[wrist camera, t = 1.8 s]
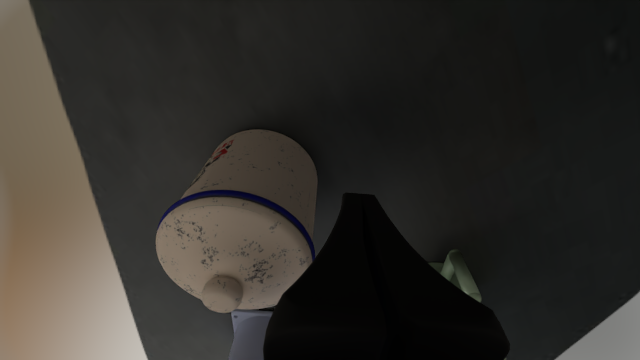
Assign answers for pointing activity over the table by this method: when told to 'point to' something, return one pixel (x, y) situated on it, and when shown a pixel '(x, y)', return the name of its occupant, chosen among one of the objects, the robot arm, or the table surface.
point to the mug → (458, 273)
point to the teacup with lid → (243, 223)
